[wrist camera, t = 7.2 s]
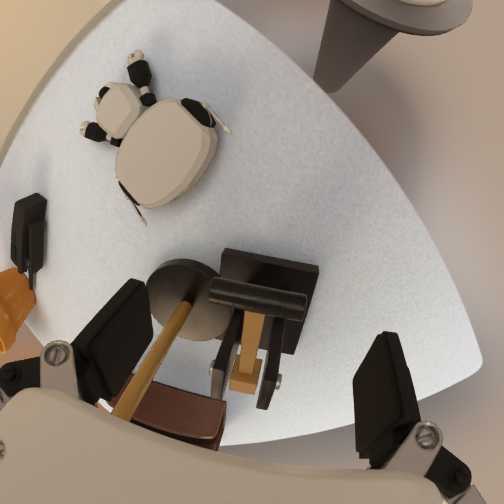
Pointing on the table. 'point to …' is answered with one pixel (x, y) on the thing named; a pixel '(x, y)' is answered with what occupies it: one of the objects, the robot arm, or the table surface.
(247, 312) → the switch lever
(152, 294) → the desk lamp
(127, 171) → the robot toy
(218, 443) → the letter holder
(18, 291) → the flower pot
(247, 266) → the black pivot bracket
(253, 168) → the table surface
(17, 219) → the walkie-talkie
